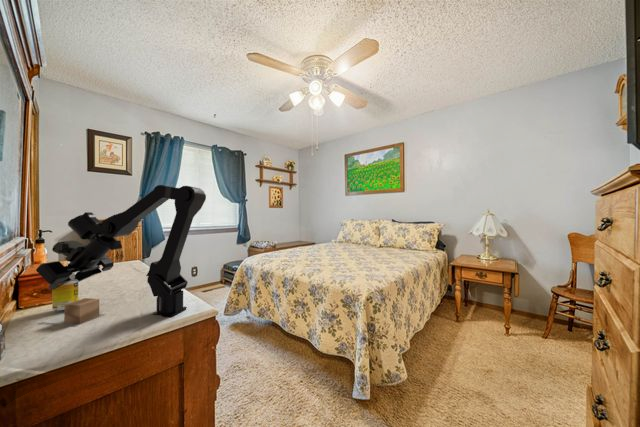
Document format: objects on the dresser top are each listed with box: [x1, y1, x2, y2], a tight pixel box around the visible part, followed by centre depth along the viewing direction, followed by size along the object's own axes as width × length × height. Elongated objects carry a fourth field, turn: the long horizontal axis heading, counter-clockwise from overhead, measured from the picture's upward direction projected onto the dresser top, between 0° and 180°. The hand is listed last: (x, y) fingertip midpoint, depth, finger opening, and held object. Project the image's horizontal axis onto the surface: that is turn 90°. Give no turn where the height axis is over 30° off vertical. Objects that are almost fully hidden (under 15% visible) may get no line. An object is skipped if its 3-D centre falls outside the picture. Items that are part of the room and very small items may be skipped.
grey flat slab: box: [37, 313, 107, 328], centre depth 68 cm, size 12×8×1 cm, turn 82°
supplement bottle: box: [51, 272, 79, 311], centre depth 75 cm, size 6×6×10 cm
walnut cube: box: [63, 297, 100, 325], centre depth 68 cm, size 5×5×5 cm
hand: (61, 286), depth 75 cm, fingers closed on supplement bottle, 5 cm apart
